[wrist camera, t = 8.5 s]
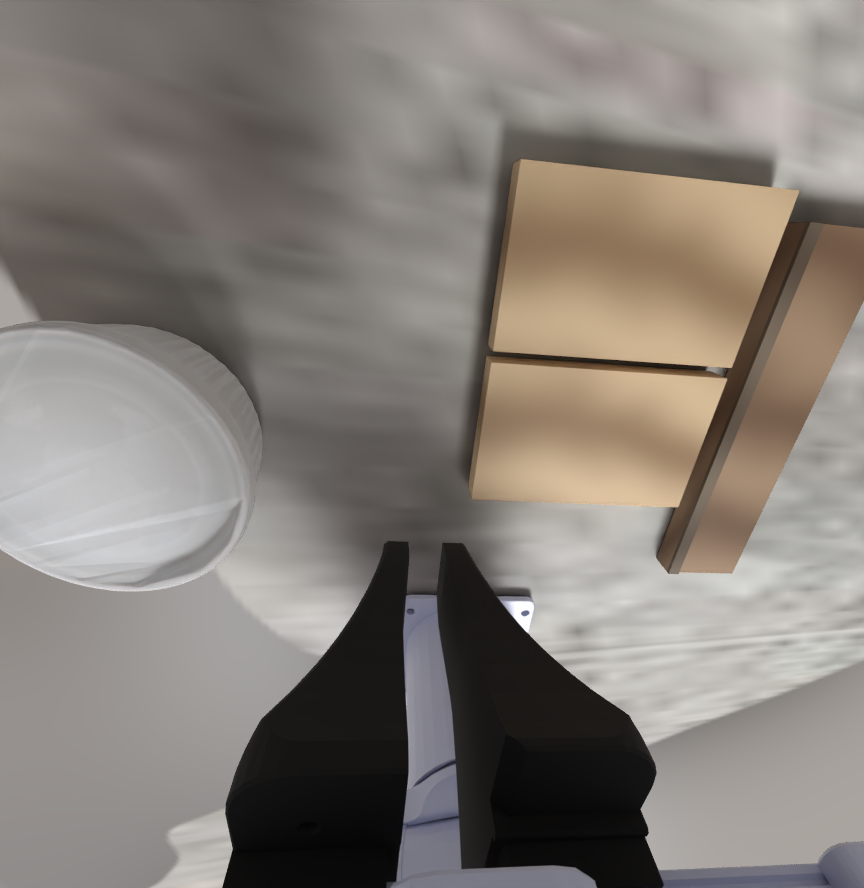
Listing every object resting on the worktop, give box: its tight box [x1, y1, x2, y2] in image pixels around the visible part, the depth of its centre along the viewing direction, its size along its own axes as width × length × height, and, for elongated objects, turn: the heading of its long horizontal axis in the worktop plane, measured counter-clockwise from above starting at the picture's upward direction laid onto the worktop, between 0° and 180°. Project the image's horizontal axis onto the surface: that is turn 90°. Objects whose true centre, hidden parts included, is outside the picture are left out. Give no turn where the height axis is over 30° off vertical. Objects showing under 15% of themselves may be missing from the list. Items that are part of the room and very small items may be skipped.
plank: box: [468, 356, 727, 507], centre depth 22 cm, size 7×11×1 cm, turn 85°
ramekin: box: [0, 321, 263, 591], centre depth 19 cm, size 11×11×5 cm
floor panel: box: [657, 222, 864, 574], centre depth 22 cm, size 18×4×1 cm, turn 175°
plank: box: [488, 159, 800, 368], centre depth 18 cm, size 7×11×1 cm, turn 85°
